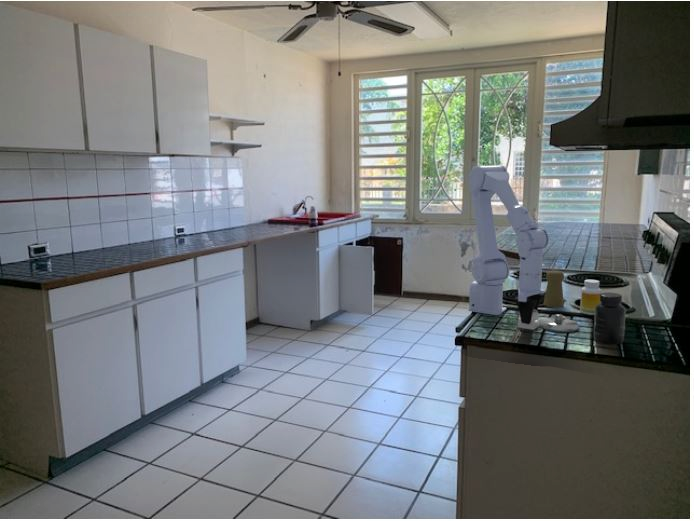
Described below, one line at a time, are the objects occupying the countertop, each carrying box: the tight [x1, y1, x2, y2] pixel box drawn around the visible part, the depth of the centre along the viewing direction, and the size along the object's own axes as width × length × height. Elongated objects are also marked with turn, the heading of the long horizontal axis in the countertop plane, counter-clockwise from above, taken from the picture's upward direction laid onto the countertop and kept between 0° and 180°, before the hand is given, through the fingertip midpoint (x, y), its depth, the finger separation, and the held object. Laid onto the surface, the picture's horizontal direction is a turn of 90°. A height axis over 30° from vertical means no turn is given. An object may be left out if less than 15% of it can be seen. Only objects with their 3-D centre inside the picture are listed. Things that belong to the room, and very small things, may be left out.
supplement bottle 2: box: [593, 291, 627, 345], centre depth 125 cm, size 7×7×12 cm
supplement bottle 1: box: [579, 279, 602, 316], centre depth 148 cm, size 5×5×10 cm
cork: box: [543, 270, 565, 309], centre depth 157 cm, size 6×6×11 cm
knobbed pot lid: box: [538, 313, 579, 333], centre depth 137 cm, size 10×10×3 cm
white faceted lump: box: [517, 309, 540, 331], centre depth 138 cm, size 5×4×5 cm
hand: (528, 320), depth 138 cm, fingers closed on white faceted lump, 4 cm apart
